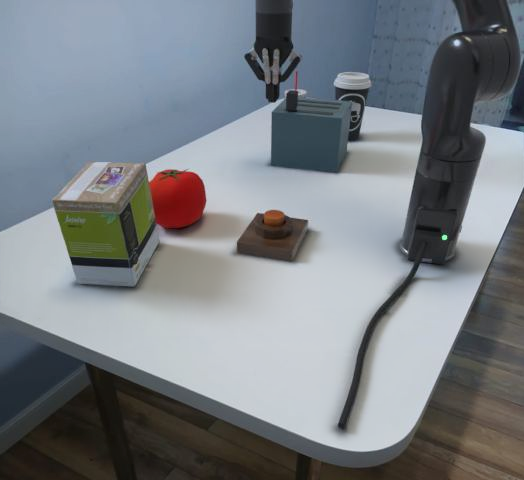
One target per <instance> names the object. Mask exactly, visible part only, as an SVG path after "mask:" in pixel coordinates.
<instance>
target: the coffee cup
mask: <svg viewBox="0 0 524 480" xmlns="http://www.w3.org/2000/svg"><path fill="white" fill-rule="evenodd" d="M333 86H334V87H335V88H334V91H335V92H334V93H335V94H334V100H339V101H351V102H352V108H351V117H350V126H349V135H348V142H354V141H357V140H358V139H359V138H360V135H361V129H362V123H363V119H364V114H365V109H366V104H367V99H368V95H369V90H370V88H371V87H372V81H371V80H370V75H369V74H367V73H364V72H358V71H357V72H356V71H345V72H340V73H338V74H337V76H336V78H335V79H334V82H333Z"/></svg>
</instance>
